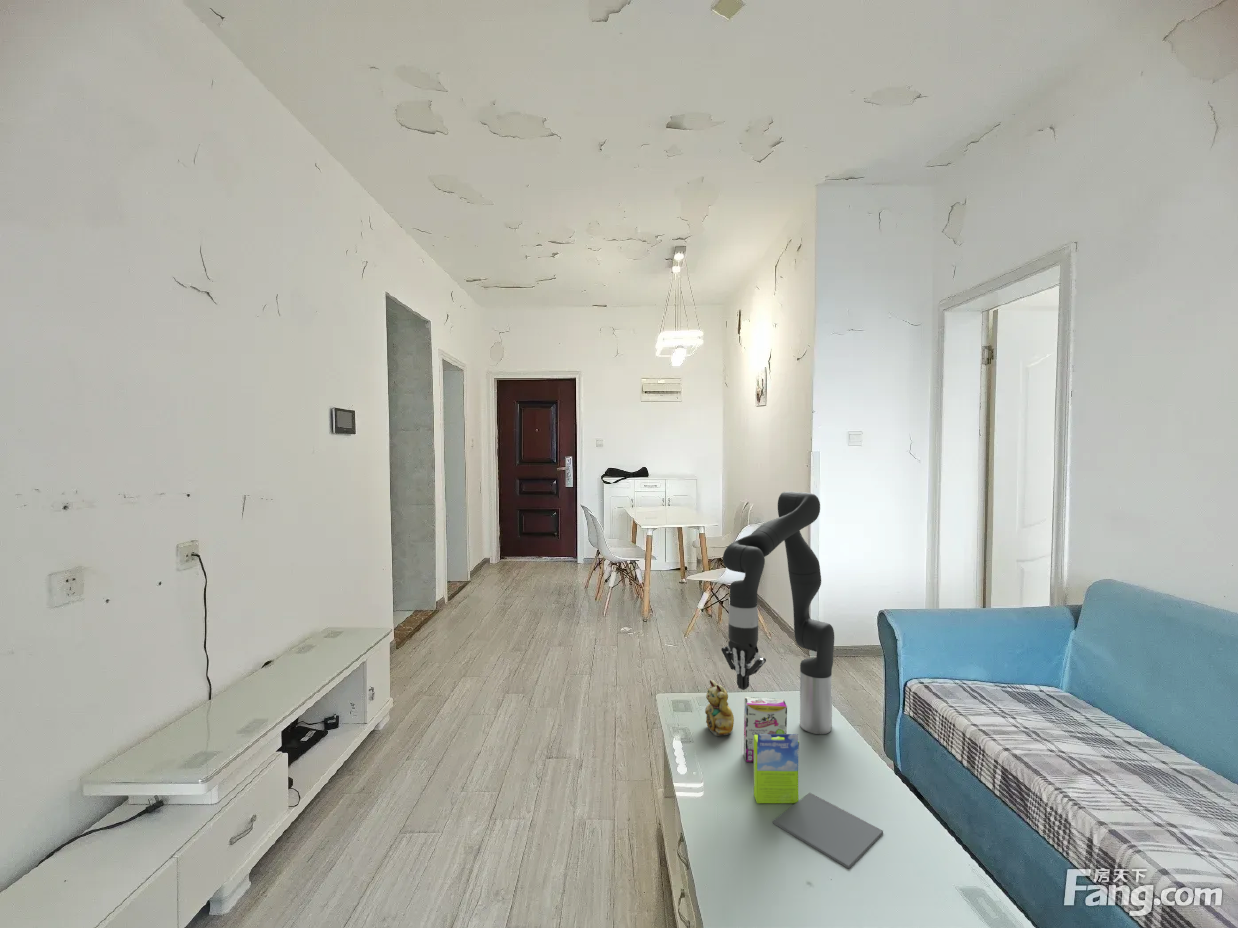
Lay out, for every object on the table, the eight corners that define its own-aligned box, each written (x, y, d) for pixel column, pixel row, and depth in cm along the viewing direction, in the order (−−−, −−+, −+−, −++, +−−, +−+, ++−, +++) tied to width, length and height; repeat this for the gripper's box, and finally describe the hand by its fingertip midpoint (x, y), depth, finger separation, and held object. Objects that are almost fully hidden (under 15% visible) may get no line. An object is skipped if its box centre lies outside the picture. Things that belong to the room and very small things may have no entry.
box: (794, 794, 135) (794, 725, 135) (799, 804, 131) (800, 734, 131) (752, 794, 135) (752, 725, 135) (756, 804, 131) (756, 734, 131)
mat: (809, 794, 135) (809, 792, 135) (883, 833, 121) (883, 830, 121) (772, 823, 125) (772, 820, 125) (848, 868, 111) (848, 865, 111)
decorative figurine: (700, 726, 169) (700, 678, 169) (722, 720, 173) (722, 674, 172) (718, 740, 160) (718, 690, 160) (741, 734, 164) (741, 685, 163)
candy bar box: (745, 763, 149) (746, 704, 149) (743, 753, 154) (743, 696, 154) (787, 765, 148) (787, 706, 147) (783, 755, 153) (783, 697, 152)
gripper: (773, 625, 137) (773, 692, 138) (731, 613, 148) (731, 676, 148) (756, 631, 133) (755, 701, 133) (714, 618, 143) (713, 684, 143)
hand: (742, 688), depth 140 cm, fingers closed
